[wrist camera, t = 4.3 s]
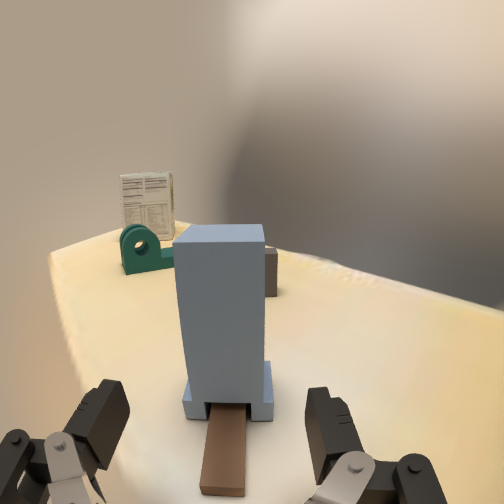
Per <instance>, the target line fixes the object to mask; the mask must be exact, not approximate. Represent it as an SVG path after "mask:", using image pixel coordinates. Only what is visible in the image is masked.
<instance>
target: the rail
mask: <svg viewBox="0 0 504 504" xmlns="http://www.w3.org/2000/svg"><path fill="white" fill-rule="evenodd" d="M245 441H246V403H217V402H212V405H211V411H210V418H209V424H208V431H207V437H206V444H205V451H204V457H203V464H202V471H201V478H200V485H199V486H200V489H201V492H202V494H204V495H219V496H244V489H245Z"/></svg>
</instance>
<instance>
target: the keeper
mask: <svg viewBox="0 0 504 504" xmlns="http://www.w3.org/2000/svg"><path fill="white" fill-rule="evenodd" d="M172 244H173V257H174V268H175V279H176V289H177V299H178V308H179V316H180V324H181V332H182V339H183V347H184V354H185V360H186V367H187V373H188V382H187V385H186V389H185V393H184V396H183V400H182V401H183V406H184V411H185V415H186V418H189V419H203V420H207V414H208V408H209V402H217V403H251V417H252V421H270V420H273V407H274V400H273V389H272V377H271V366H270V361H264V325H265V239H264V233H263V228H262V224H241V225H240V224H239V225H238V224H236V225H235V224H233V225H191V226H190V227H189V228H187V229H186V230H185V231H184V232H183V233H182V234H181V235H180V236H179V237H178V238H177V239H176V240H175V241H174V242H172Z"/></svg>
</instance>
